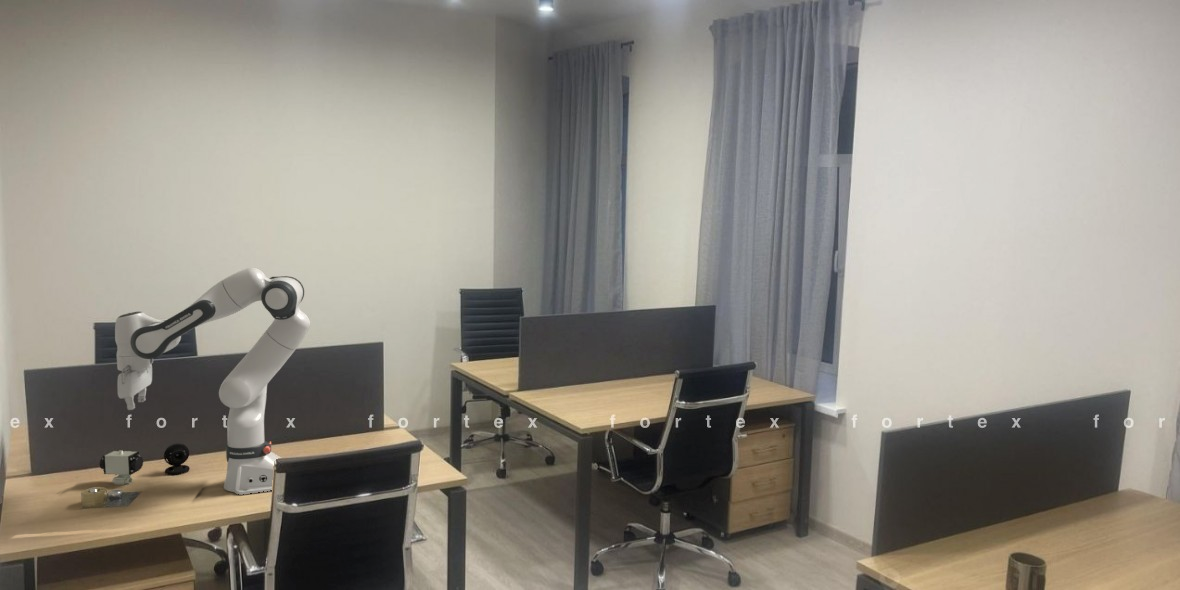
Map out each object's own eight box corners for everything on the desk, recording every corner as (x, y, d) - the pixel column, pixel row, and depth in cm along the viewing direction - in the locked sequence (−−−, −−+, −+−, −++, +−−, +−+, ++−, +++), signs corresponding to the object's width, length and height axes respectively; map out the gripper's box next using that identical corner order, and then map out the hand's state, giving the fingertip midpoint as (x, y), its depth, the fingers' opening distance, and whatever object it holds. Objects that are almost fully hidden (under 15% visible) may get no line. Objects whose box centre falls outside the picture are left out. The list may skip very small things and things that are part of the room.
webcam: (166, 477, 255) (165, 448, 253) (162, 470, 260) (161, 442, 259) (192, 472, 259) (191, 444, 258) (187, 466, 265) (186, 439, 264)
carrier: (142, 494, 239) (141, 478, 238) (127, 509, 227) (127, 492, 227) (96, 497, 236) (95, 480, 235) (79, 512, 224) (78, 494, 224)
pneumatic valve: (135, 489, 243) (134, 453, 242) (100, 488, 244) (98, 452, 242) (146, 482, 249) (144, 447, 248) (111, 481, 249) (109, 446, 248)
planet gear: (109, 498, 232) (109, 486, 232) (101, 506, 227) (101, 493, 226) (87, 500, 231) (87, 487, 231) (79, 507, 225) (78, 494, 225)
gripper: (133, 369, 229) (136, 413, 231) (154, 356, 249) (157, 397, 250) (109, 370, 227) (113, 414, 229) (133, 357, 247) (136, 398, 249)
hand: (136, 405), depth 240 cm, fingers open, 8 cm apart
